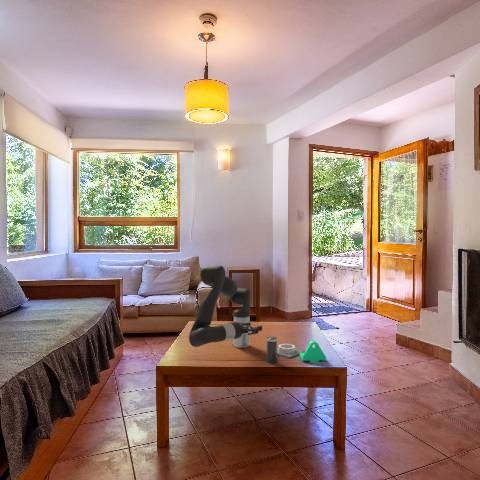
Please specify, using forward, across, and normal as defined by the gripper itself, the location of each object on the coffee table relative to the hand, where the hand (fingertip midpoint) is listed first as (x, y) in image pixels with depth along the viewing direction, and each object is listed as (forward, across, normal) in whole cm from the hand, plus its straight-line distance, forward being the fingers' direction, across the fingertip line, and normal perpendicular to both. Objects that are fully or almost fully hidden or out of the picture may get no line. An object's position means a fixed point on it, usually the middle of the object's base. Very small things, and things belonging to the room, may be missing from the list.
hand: (255, 326), depth 184 cm
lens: (+11, 0, +20) cm, 23 cm away
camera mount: (+30, -11, +20) cm, 38 cm away
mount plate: (+28, +6, +20) cm, 34 cm away
